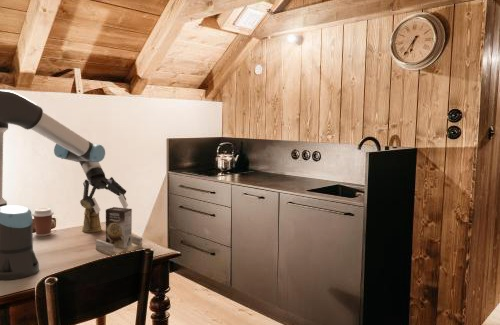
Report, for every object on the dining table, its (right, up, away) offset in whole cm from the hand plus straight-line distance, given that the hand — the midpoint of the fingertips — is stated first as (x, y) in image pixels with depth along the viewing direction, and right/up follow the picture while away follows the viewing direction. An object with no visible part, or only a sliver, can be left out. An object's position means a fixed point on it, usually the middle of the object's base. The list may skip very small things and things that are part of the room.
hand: (112, 209), depth 185 cm
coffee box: (+3, -15, -3) cm, 16 cm away
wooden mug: (-18, -14, +23) cm, 32 cm away
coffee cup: (-38, -14, +17) cm, 44 cm away
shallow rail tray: (+4, -16, -2) cm, 17 cm away
